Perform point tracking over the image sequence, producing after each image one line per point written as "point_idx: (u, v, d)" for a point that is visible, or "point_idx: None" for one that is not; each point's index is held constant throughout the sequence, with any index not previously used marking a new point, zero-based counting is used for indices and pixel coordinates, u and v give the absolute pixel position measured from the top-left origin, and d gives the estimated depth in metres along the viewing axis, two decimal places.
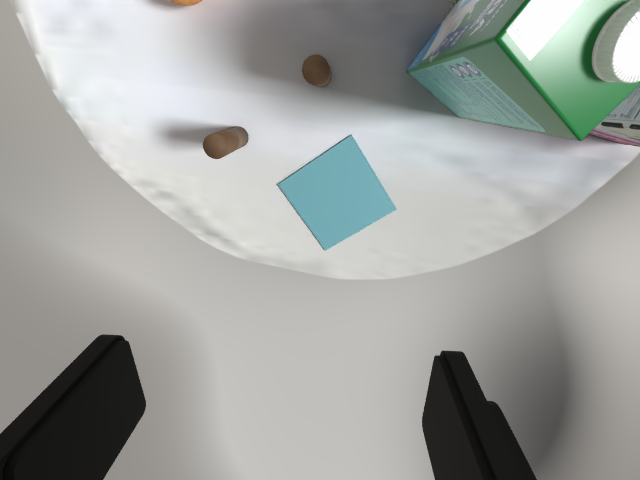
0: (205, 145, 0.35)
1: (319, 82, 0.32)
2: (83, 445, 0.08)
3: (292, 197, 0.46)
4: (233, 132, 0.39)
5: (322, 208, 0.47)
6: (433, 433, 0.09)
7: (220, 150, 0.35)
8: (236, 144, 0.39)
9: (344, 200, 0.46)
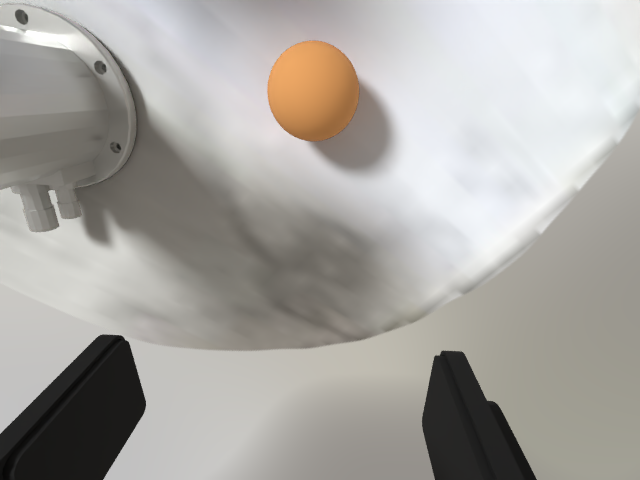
0: None
1: None
2: (83, 445, 0.08)
3: None
4: None
5: None
6: (433, 433, 0.09)
7: None
8: None
9: None
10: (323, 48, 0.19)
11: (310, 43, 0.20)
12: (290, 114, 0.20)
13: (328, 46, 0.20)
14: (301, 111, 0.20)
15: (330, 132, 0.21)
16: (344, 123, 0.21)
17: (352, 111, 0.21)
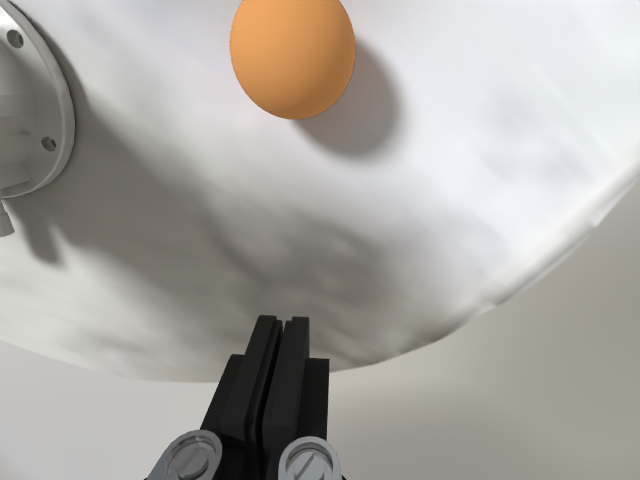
0: None
1: None
2: None
3: None
4: None
5: None
6: None
7: None
8: None
9: None
10: None
11: None
12: (260, 79, 0.14)
13: None
14: (274, 74, 0.14)
15: (318, 104, 0.15)
16: (337, 90, 0.15)
17: (347, 73, 0.15)
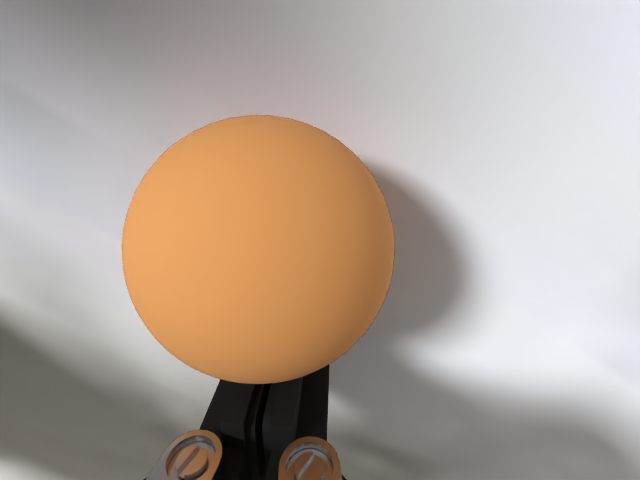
0: None
1: None
2: None
3: None
4: None
5: None
6: None
7: None
8: None
9: None
10: (265, 140, 0.06)
11: (224, 129, 0.06)
12: (182, 357, 0.06)
13: (283, 130, 0.06)
14: (210, 358, 0.06)
15: (322, 367, 0.07)
16: (362, 334, 0.07)
17: (382, 300, 0.07)
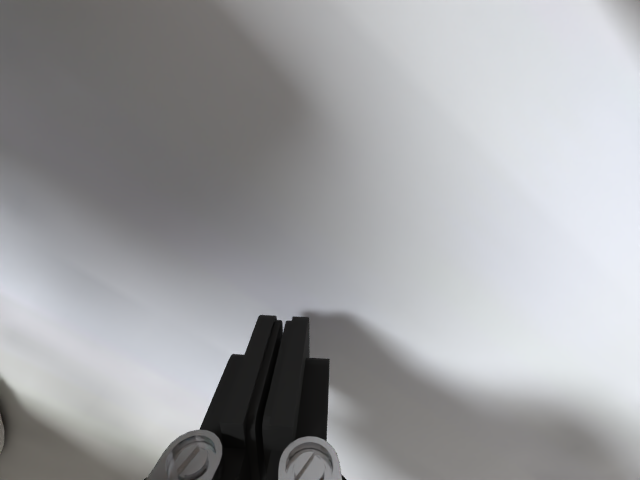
0: None
1: None
2: None
3: None
4: None
5: None
6: None
7: None
8: None
9: None
10: None
11: None
12: None
13: None
14: None
15: None
16: None
17: None
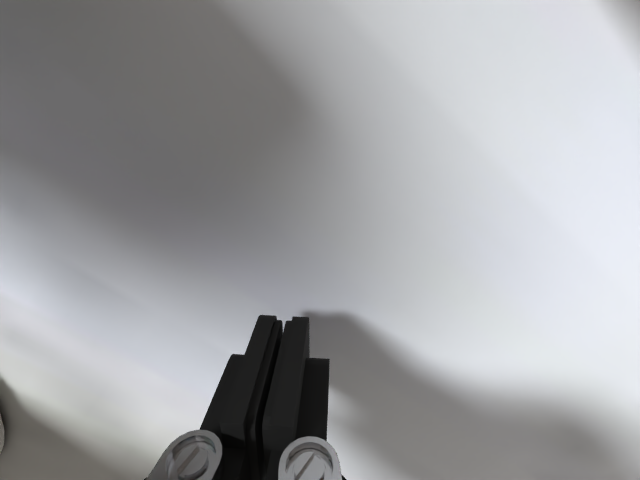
0: None
1: None
2: None
3: None
4: None
5: None
6: None
7: None
8: None
9: None
10: None
11: None
12: None
13: None
14: None
15: None
16: None
17: None
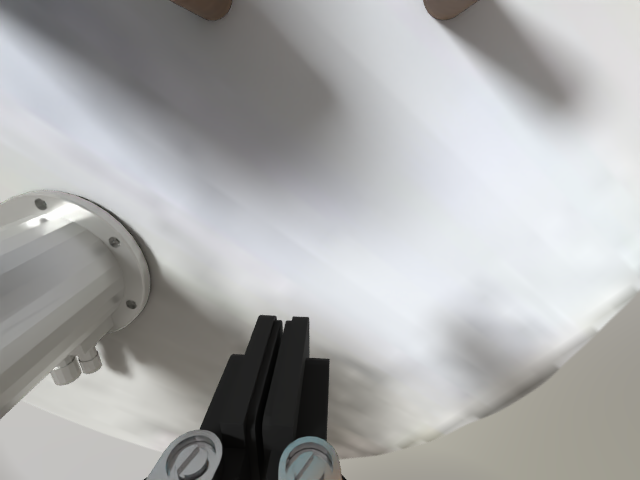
0: None
1: None
2: None
3: None
4: None
5: None
6: None
7: None
8: None
9: None
10: None
11: None
12: None
13: None
14: None
15: None
16: None
17: None
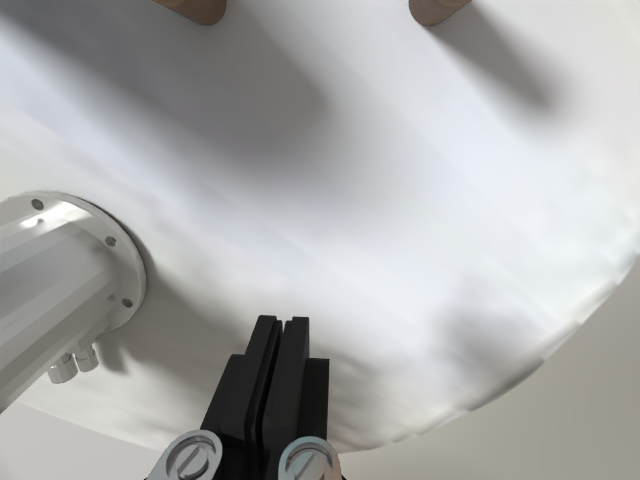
0: None
1: None
2: None
3: None
4: None
5: None
6: None
7: None
8: None
9: None
10: None
11: None
12: None
13: None
14: None
15: None
16: None
17: None
